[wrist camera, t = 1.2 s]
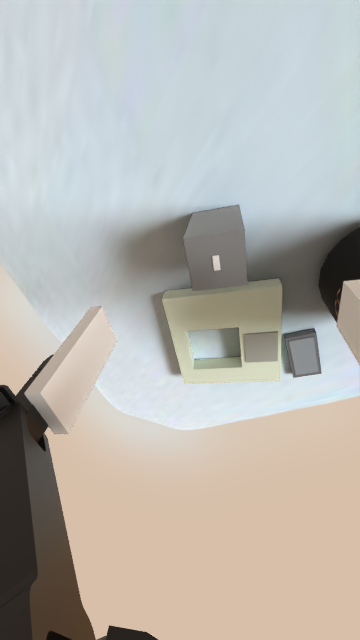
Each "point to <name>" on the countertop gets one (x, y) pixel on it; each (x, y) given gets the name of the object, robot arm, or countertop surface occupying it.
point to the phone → (303, 353)
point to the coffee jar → (340, 270)
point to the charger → (216, 249)
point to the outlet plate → (229, 312)
